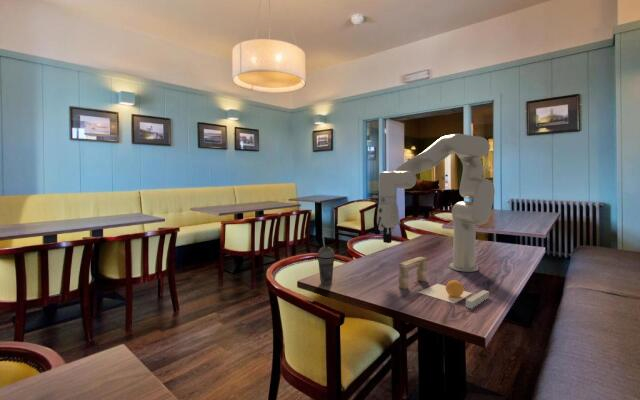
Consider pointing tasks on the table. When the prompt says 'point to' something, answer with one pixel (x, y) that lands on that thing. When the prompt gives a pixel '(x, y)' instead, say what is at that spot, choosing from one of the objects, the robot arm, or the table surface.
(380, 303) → the table surface
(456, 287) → the ball
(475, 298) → the wall
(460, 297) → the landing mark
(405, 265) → the bridge
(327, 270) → the beverage cup
